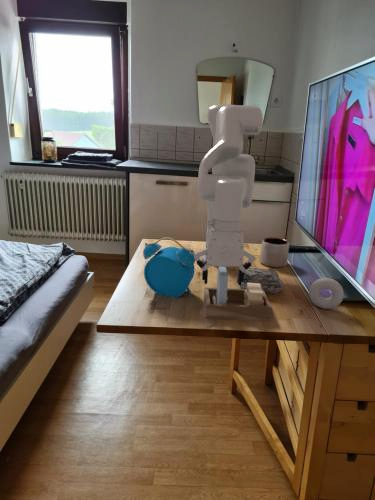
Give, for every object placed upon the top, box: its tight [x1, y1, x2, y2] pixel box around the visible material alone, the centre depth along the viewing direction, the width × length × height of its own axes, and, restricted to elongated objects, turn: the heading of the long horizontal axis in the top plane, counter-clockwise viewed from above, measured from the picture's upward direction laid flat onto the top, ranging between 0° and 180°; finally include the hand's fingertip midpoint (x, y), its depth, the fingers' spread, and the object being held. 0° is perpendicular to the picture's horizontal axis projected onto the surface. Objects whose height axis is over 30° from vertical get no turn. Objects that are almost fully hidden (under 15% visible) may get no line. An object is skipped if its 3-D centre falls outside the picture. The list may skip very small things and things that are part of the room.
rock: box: [238, 267, 285, 295], centre depth 126 cm, size 16×8×10 cm, turn 73°
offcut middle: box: [244, 290, 264, 306], centre depth 111 cm, size 8×4×2 cm, turn 3°
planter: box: [259, 236, 291, 269], centre depth 153 cm, size 11×11×10 cm
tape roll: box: [308, 277, 345, 310], centre depth 116 cm, size 10×3×10 cm, turn 71°
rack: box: [203, 287, 273, 322], centre depth 112 cm, size 12×18×5 cm, turn 90°
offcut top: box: [247, 283, 263, 301], centre depth 110 cm, size 7×4×2 cm, turn 176°
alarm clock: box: [142, 236, 196, 298], centre depth 119 cm, size 17×10×20 cm, turn 71°
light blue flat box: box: [216, 266, 229, 304], centre depth 110 cm, size 8×2×12 cm, turn 0°
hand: (222, 282), depth 109 cm, fingers open, 9 cm apart
